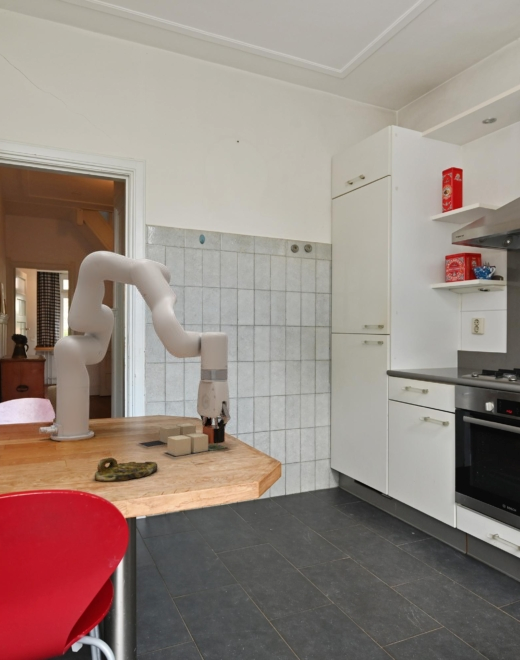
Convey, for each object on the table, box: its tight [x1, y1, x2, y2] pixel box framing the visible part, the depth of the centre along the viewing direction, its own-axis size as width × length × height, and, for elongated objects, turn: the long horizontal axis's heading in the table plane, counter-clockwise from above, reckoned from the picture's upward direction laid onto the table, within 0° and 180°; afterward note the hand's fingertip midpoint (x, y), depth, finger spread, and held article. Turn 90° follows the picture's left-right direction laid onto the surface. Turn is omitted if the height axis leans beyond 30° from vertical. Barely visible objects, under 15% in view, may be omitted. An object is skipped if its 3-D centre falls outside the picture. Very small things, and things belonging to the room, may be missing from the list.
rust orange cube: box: [202, 424, 226, 445], centre depth 134 cm, size 4×4×4 cm
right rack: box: [164, 432, 228, 458], centre depth 131 cm, size 17×6×5 cm, turn 130°
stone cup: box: [47, 384, 57, 423], centre depth 169 cm, size 15×12×15 cm
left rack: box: [138, 422, 197, 448], centre depth 142 cm, size 17×6×5 cm, turn 130°
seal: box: [94, 457, 158, 482], centre depth 108 cm, size 9×5×15 cm
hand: (213, 440), depth 134 cm, fingers closed on rust orange cube, 4 cm apart
